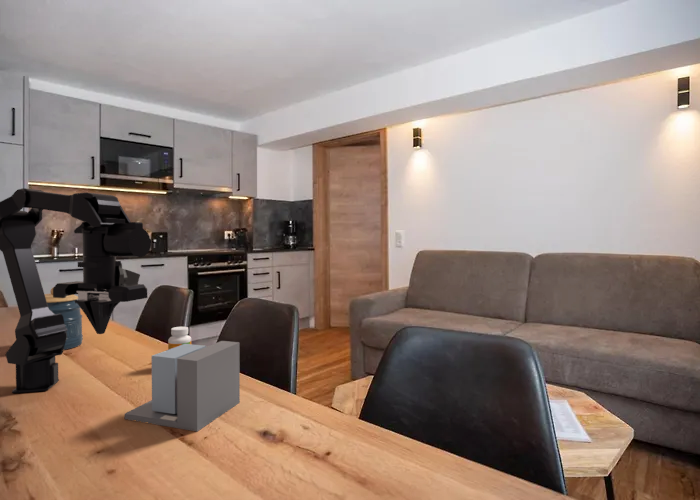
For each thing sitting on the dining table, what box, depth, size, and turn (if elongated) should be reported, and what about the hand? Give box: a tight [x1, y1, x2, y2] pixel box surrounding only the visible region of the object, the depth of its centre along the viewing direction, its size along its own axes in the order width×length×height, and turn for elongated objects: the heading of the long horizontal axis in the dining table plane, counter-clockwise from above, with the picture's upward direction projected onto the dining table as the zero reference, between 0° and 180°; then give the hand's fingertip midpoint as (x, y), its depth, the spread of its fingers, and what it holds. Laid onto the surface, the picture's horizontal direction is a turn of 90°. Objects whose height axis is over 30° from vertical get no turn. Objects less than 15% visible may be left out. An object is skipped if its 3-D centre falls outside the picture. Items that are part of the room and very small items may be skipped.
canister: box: [44, 286, 84, 351], centre depth 124 cm, size 13×13×18 cm
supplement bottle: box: [167, 326, 192, 350], centre depth 106 cm, size 5×5×10 cm
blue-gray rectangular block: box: [151, 343, 207, 414], centre depth 80 cm, size 5×9×10 cm, turn 163°
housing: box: [124, 340, 241, 432], centre depth 80 cm, size 15×13×12 cm
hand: (100, 333), depth 86 cm, fingers closed
